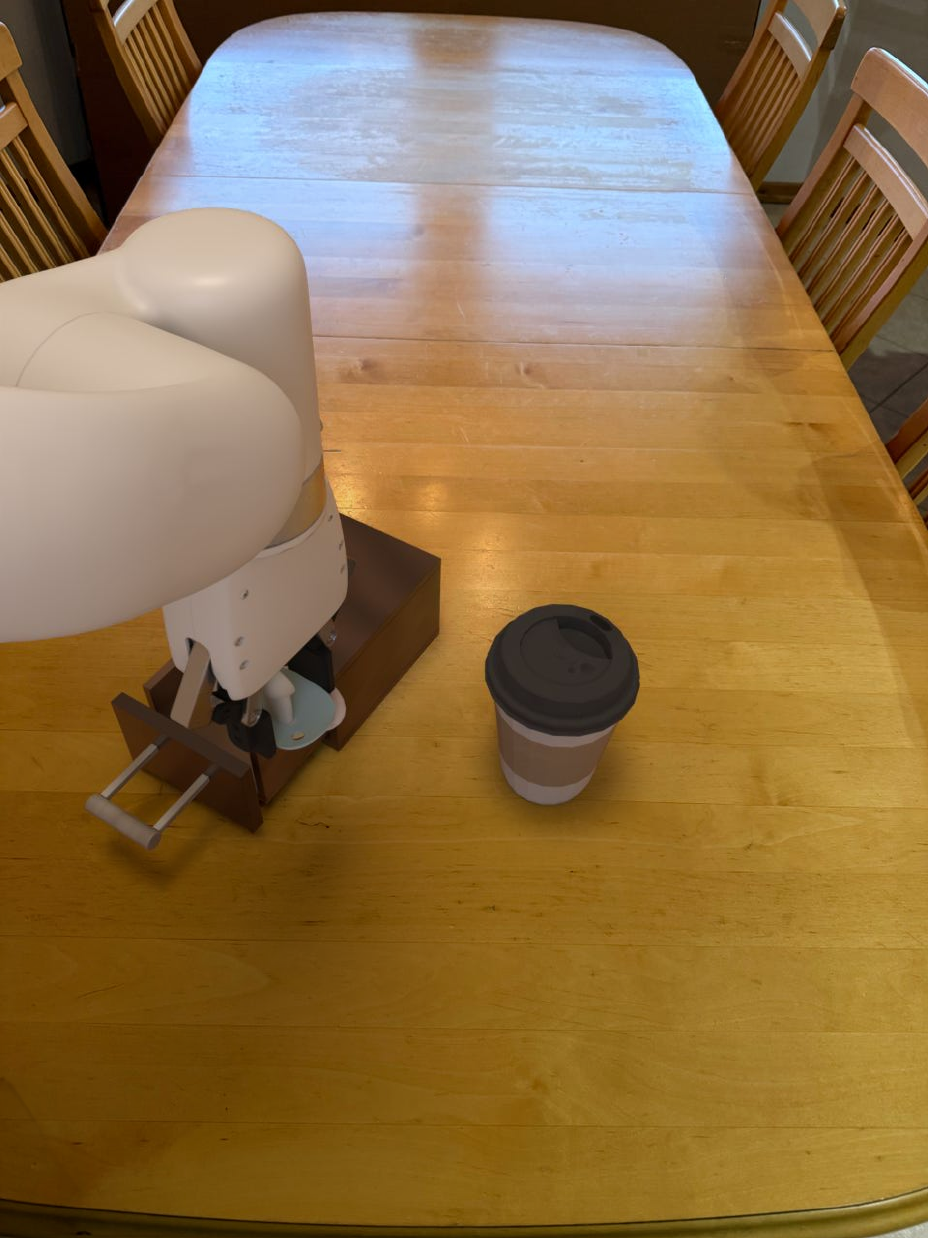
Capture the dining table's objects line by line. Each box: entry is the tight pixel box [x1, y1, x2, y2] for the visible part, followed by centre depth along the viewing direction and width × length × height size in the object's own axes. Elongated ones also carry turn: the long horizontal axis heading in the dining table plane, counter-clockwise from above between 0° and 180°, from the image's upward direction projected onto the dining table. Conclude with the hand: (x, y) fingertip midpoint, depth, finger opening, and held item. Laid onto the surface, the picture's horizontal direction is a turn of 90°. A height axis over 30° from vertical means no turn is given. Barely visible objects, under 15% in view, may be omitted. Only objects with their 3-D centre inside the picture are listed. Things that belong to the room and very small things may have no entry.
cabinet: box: [320, 511, 442, 752], centre depth 85 cm, size 16×14×10 cm
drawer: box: [84, 657, 330, 851], centre depth 77 cm, size 21×12×8 cm, turn 149°
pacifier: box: [262, 666, 346, 750], centre depth 59 cm, size 7×6×6 cm
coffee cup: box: [484, 603, 641, 806], centre depth 76 cm, size 11×11×15 cm
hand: (283, 712), depth 60 cm, fingers closed on pacifier, 4 cm apart
